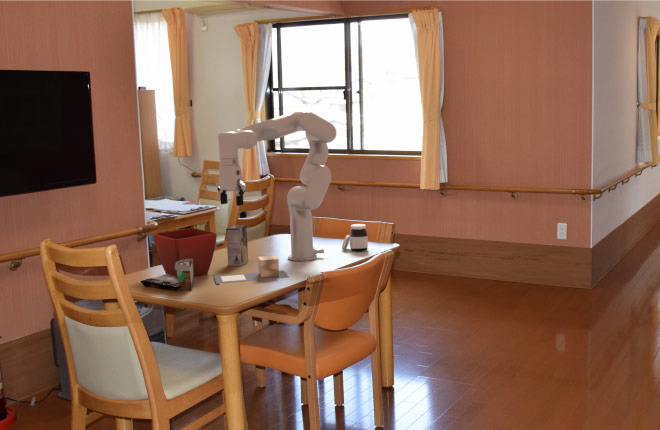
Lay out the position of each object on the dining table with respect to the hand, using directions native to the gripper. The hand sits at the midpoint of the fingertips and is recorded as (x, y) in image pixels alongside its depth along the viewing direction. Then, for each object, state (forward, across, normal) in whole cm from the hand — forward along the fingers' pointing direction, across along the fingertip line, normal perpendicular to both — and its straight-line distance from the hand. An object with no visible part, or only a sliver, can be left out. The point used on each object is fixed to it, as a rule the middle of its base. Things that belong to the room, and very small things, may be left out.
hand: (232, 204), depth 300 cm
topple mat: (+27, -16, +7) cm, 32 cm away
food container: (+27, -7, +32) cm, 43 cm away
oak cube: (+27, -20, +1) cm, 34 cm away
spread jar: (+28, -16, -57) cm, 66 cm away
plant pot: (+27, +11, +17) cm, 34 cm away
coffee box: (+27, +8, -8) cm, 30 cm away
